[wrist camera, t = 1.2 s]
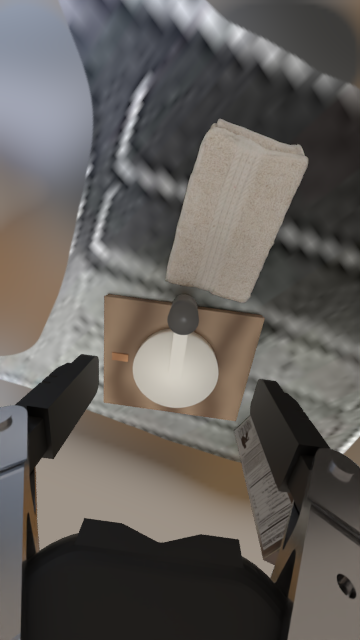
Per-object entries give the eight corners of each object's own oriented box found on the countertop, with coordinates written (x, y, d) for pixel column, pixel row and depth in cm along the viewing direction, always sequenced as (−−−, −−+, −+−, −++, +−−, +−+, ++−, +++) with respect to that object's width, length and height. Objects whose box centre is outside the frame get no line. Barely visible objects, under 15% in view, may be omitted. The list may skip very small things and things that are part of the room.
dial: (209, 403, 32) (214, 452, 24) (134, 392, 32) (116, 438, 24) (232, 295, 26) (249, 314, 19) (141, 283, 26) (120, 296, 19)
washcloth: (304, 157, 23) (320, 143, 20) (245, 303, 29) (251, 309, 26) (205, 124, 23) (207, 105, 20) (165, 279, 28) (162, 282, 26)
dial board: (261, 315, 29) (265, 318, 27) (234, 414, 35) (236, 422, 33) (108, 293, 29) (103, 296, 27) (107, 396, 35) (103, 403, 33)
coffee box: (296, 432, 35) (376, 570, 20) (271, 454, 37) (327, 595, 22) (256, 407, 34) (309, 534, 19) (232, 431, 36) (262, 563, 21)
